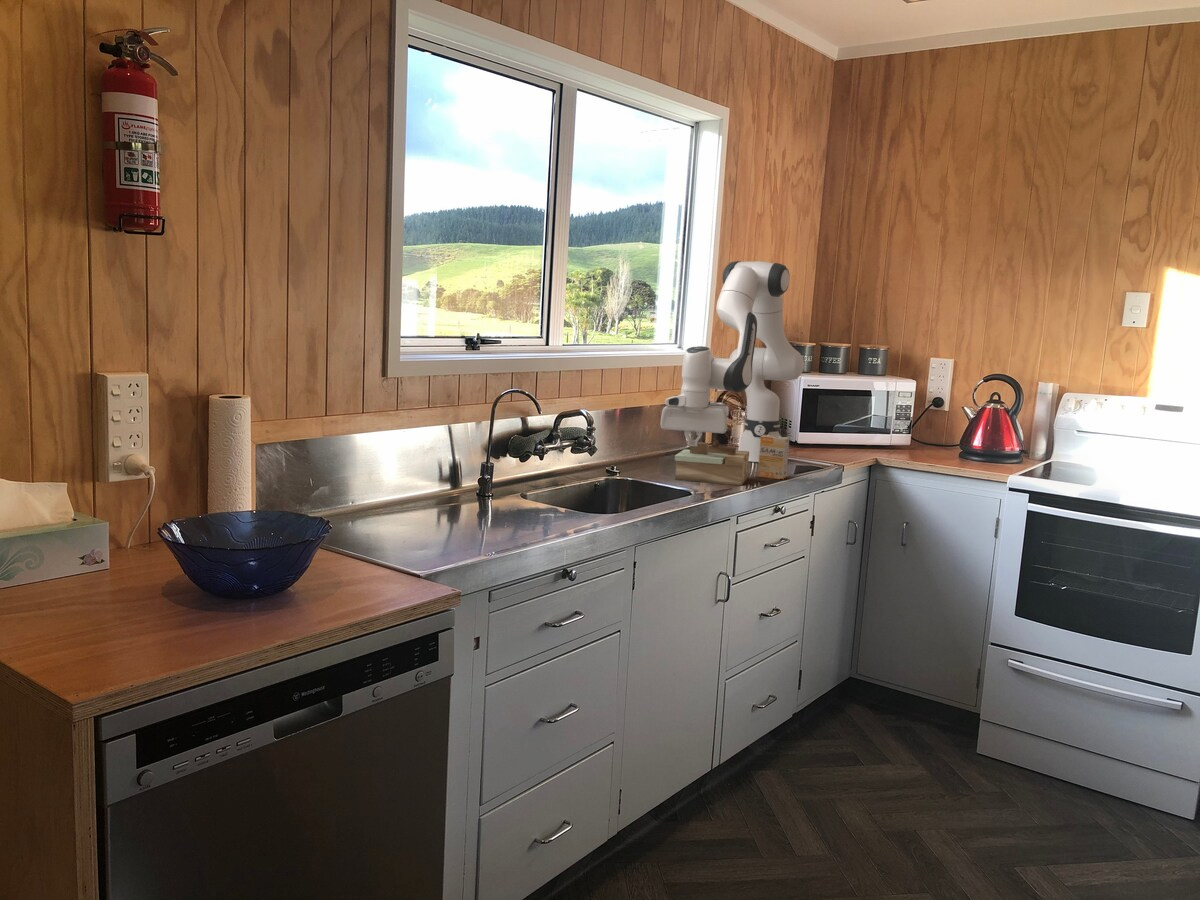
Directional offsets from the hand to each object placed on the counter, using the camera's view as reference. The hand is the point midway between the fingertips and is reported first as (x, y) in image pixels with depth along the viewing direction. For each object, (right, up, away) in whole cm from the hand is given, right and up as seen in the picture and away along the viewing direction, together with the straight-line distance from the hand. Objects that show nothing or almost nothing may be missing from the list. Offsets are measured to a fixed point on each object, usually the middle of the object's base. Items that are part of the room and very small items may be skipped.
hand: (692, 446), depth 292 cm
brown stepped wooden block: (+9, -2, -2) cm, 9 cm away
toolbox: (+6, -10, +2) cm, 12 cm away
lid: (+3, -4, +2) cm, 6 cm away
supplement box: (+26, -10, +9) cm, 29 cm away
